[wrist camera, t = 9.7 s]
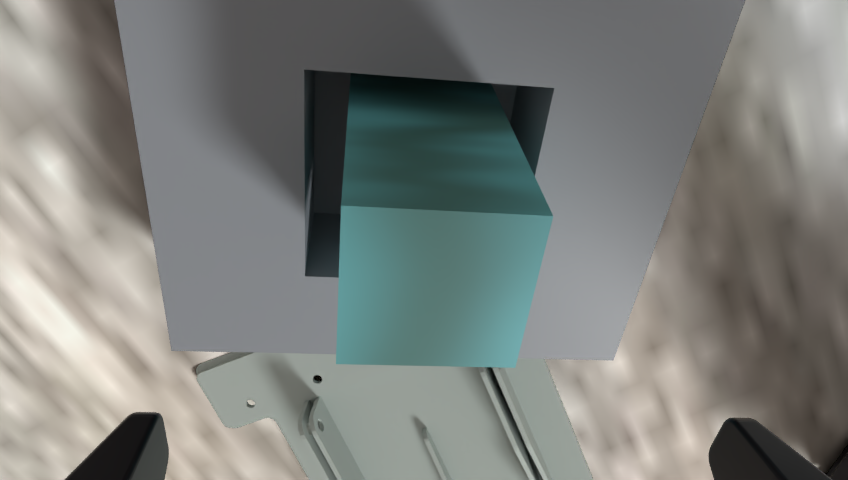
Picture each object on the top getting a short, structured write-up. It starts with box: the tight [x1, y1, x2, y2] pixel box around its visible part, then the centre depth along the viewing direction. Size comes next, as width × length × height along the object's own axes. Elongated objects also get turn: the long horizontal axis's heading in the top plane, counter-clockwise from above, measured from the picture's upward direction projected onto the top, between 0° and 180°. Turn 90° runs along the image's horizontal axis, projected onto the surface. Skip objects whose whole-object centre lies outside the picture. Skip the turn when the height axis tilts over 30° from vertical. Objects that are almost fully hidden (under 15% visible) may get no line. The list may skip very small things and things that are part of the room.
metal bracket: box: [196, 352, 593, 480], centre depth 26 cm, size 14×6×15 cm
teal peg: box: [336, 73, 553, 368], centre depth 16 cm, size 4×4×8 cm
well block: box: [114, 0, 745, 360], centre depth 18 cm, size 14×12×4 cm
